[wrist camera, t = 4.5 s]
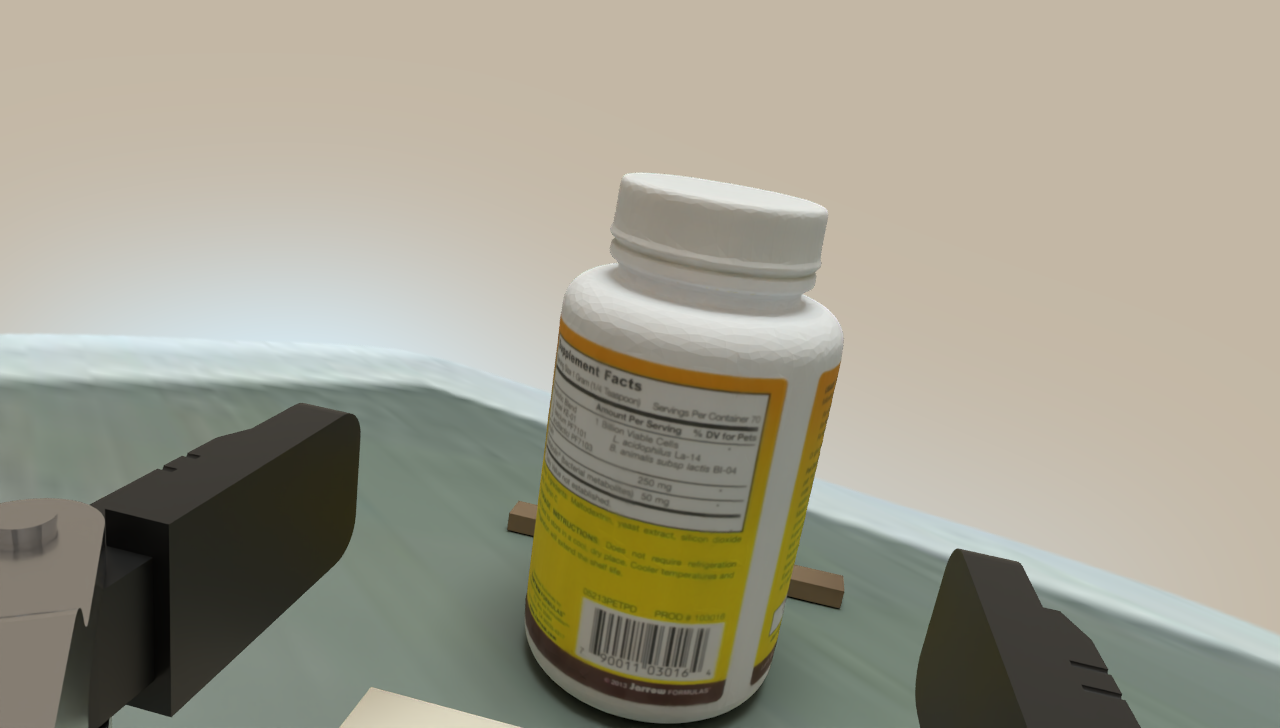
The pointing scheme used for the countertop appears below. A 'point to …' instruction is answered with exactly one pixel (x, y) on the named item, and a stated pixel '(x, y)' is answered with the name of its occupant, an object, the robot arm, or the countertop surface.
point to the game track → (406, 724)
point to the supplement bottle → (681, 449)
